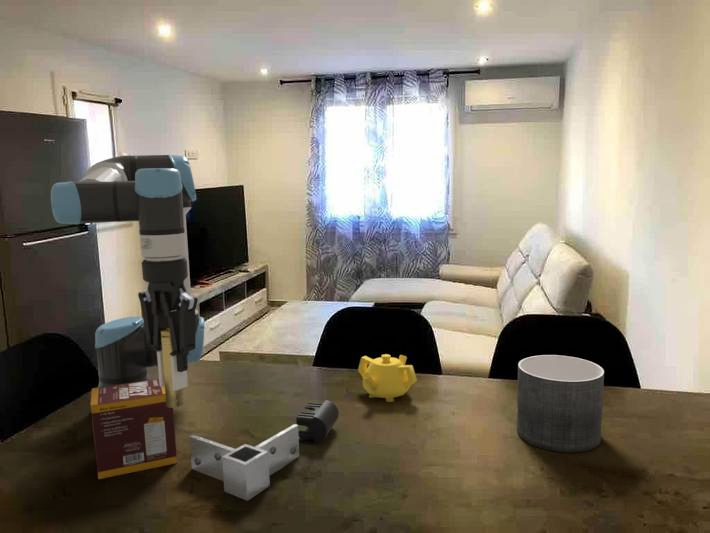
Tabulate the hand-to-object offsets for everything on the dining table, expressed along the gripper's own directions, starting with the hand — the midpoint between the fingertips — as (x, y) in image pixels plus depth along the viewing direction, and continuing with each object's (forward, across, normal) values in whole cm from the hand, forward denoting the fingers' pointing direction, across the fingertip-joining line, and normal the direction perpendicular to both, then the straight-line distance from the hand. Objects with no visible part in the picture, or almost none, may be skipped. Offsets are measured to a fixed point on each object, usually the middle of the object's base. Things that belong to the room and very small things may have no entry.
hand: (173, 385), depth 102 cm
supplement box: (+22, -19, +4) cm, 29 cm away
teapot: (+22, +8, +62) cm, 66 cm away
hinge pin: (+4, 0, 0) cm, 4 cm away
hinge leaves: (+21, +3, +14) cm, 26 cm away
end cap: (+22, +7, +33) cm, 40 cm away
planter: (+22, +53, +61) cm, 84 cm away
